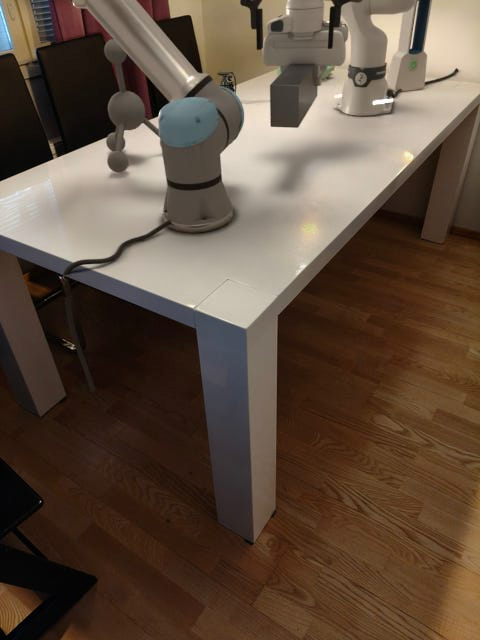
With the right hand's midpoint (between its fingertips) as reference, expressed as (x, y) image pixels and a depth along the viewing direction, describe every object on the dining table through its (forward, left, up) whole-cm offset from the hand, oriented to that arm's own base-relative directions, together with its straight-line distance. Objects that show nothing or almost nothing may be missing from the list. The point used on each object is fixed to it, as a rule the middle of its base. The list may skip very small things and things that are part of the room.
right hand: (302, 85), depth 123 cm
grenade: (-45, -49, -18) cm, 69 cm away
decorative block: (-87, -35, -18) cm, 95 cm away
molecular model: (+17, -42, -18) cm, 48 cm away
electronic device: (-82, +9, -18) cm, 84 cm away
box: (+9, +2, -4) cm, 10 cm away
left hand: (+27, +9, +13) cm, 31 cm away
